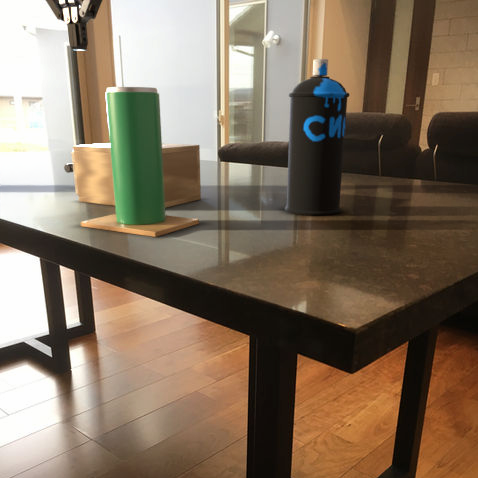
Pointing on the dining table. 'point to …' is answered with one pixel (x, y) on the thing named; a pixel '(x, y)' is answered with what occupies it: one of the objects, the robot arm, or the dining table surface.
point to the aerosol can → (316, 144)
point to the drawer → (72, 170)
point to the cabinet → (174, 172)
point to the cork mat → (148, 230)
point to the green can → (136, 154)
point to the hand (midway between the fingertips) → (79, 49)
